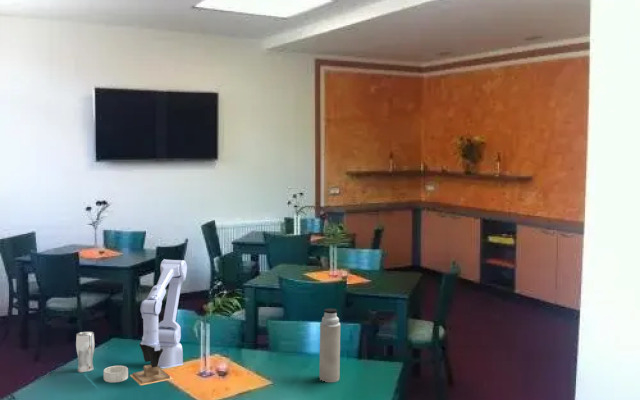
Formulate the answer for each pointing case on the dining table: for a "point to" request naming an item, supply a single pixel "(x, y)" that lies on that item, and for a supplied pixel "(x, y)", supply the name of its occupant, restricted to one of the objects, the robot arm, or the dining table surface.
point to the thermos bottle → (330, 346)
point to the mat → (148, 383)
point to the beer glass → (85, 351)
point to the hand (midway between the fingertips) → (151, 364)
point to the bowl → (115, 373)
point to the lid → (151, 374)
